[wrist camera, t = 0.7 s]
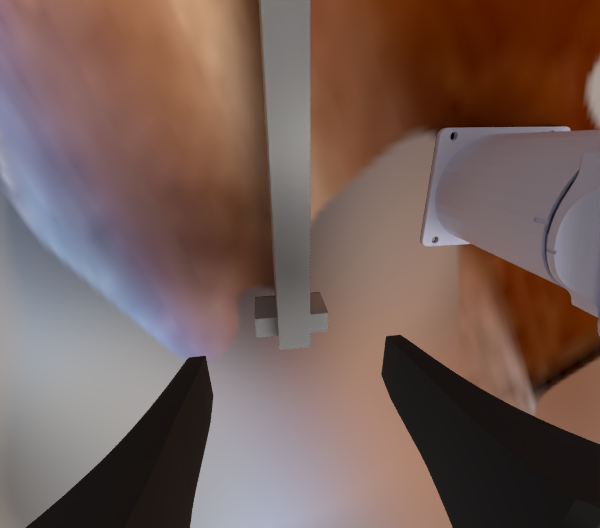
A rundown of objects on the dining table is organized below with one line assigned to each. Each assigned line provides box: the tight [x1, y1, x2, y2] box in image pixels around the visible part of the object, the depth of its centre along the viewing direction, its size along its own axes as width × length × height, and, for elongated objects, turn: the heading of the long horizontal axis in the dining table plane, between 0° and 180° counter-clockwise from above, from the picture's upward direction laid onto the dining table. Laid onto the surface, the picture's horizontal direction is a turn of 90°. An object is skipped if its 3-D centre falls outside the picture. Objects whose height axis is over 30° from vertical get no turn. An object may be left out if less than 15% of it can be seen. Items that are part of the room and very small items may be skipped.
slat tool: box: [255, 0, 328, 350], centre depth 16 cm, size 5×20×4 cm, turn 1°
